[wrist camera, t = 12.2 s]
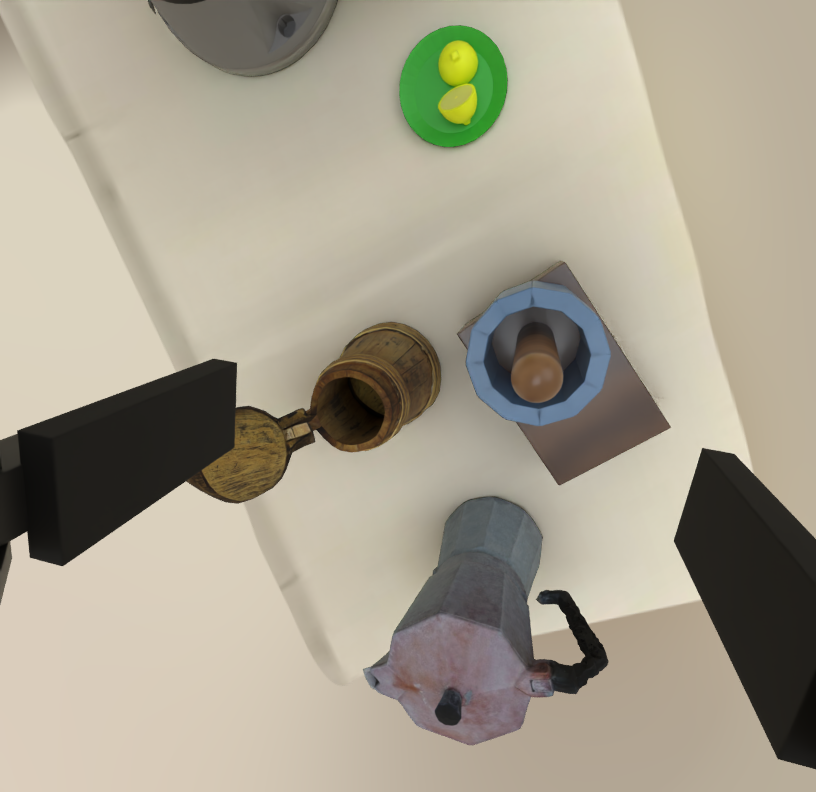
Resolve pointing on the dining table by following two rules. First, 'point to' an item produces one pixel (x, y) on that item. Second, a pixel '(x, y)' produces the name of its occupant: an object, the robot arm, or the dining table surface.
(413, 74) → the green plate
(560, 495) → the dining table surface
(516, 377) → the peg box
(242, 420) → the wooden mug
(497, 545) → the moka pot
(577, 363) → the blue faceted cup
